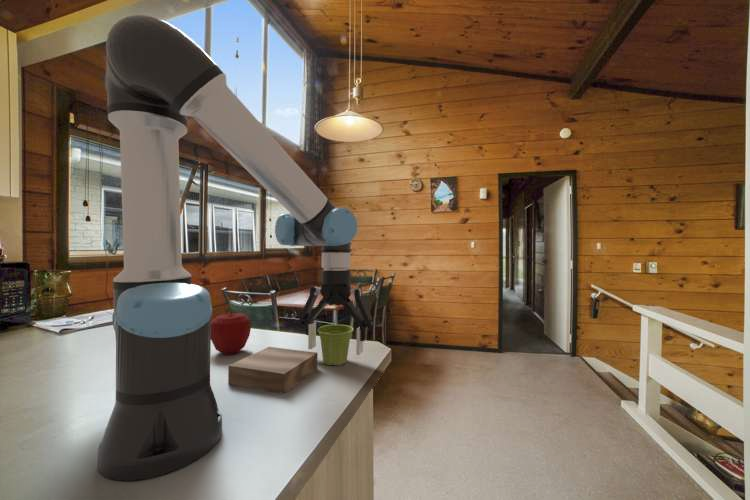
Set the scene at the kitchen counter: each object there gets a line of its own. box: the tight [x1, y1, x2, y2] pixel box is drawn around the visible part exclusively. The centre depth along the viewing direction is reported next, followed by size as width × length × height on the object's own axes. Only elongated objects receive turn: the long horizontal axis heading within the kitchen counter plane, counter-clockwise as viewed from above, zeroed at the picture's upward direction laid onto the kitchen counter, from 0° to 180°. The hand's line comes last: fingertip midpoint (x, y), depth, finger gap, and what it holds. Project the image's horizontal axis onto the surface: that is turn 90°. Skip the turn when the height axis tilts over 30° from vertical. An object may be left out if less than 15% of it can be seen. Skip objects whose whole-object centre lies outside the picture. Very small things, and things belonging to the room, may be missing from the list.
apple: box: [211, 311, 252, 355], centre depth 89 cm, size 11×11×12 cm
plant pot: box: [316, 324, 354, 366], centre depth 82 cm, size 9×9×9 cm
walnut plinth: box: [227, 346, 318, 394], centre depth 72 cm, size 14×14×4 cm
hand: (335, 350), depth 82 cm, fingers open, 13 cm apart
